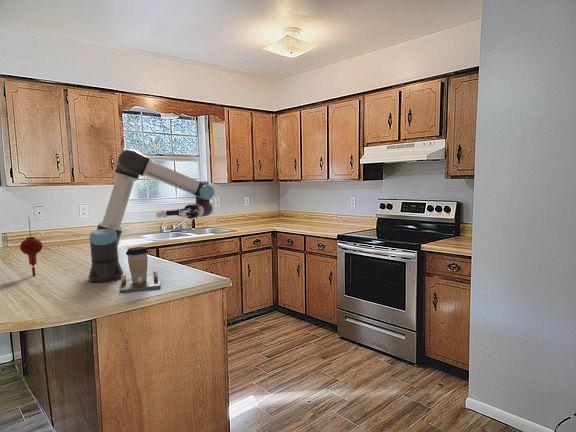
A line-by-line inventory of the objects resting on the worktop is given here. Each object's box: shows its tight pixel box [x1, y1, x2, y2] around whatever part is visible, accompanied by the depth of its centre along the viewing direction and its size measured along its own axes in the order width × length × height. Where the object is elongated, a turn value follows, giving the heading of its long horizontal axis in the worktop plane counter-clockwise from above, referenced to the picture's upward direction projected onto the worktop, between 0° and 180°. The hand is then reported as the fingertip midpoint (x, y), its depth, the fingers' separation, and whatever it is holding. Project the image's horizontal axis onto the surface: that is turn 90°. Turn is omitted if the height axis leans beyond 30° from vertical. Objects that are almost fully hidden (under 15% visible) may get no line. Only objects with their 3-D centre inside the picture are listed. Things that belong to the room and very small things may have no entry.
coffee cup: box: [125, 246, 149, 283], centre depth 169 cm, size 9×9×15 cm
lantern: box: [19, 216, 43, 277], centre depth 192 cm, size 10×10×30 cm
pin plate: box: [119, 270, 161, 295], centre depth 169 cm, size 20×16×6 cm
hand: (169, 214), depth 182 cm, fingers open, 13 cm apart
